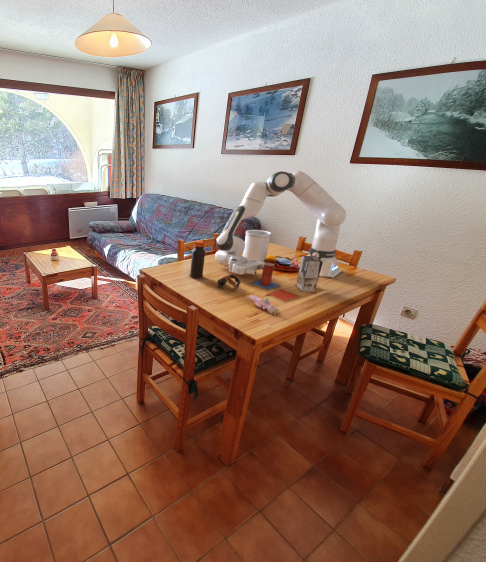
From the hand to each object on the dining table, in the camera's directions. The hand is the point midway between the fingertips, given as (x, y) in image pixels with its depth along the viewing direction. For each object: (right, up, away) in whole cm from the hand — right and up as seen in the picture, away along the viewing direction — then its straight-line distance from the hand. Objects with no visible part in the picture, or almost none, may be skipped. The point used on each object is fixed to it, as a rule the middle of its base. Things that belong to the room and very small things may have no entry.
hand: (261, 271), depth 162 cm
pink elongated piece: (-11, -17, -24) cm, 32 cm away
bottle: (-32, -3, +11) cm, 33 cm away
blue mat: (+2, -7, 0) cm, 7 cm away
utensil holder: (+14, +10, +40) cm, 43 cm away
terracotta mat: (+5, -12, -13) cm, 18 cm away
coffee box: (+20, -9, -4) cm, 23 cm away
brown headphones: (-20, -9, -4) cm, 22 cm away
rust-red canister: (+2, -7, -1) cm, 7 cm away
